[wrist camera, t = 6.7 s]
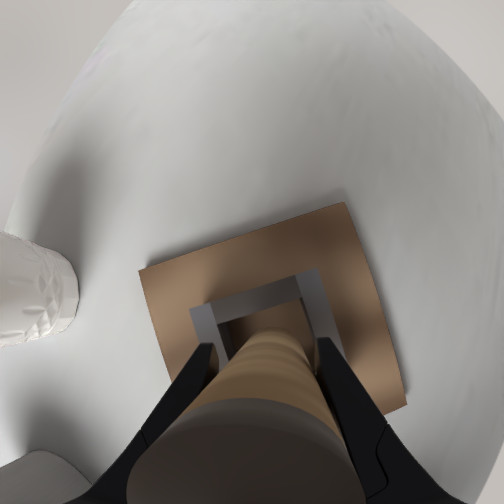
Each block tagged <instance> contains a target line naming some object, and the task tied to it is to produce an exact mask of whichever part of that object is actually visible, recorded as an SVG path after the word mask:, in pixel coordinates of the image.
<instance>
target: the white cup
mask: <svg viewBox="0 0 504 504" xmlns="http://www.w3.org/2000/svg"><path fill="white" fill-rule="evenodd" d="M78 301H79V292H78V280H77V277H76V274H75V272H74V270H73V268H72V266H71V263H70V262H69V261H68V260H67V259H66V258H64V257H63V256H62V255H61V254H60V253H58V252H56V251H53V250H50V249H46V248H43V247H41V246H39V245H37V244H35V243H33V242H30V241H27V240H24V239H22V238H19V237H17V236H14V235H12V234H9V233H6V232H3V231H0V347H3V346H9V345H14V344H19V343H23V342H26V341H32V340H36V339H39V338H40V337H46V336H51V335H54V334H57V333H59V332H62V331H64V330H65V329H66V328H67V327H68V325H69V324H70V323H71V321H72V320H73V319H74V317H75V314H76V309H77V305H78Z"/></svg>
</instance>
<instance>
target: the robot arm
mask: <svg viewBox="0 0 504 504" xmlns="http://www.w3.org/2000/svg"><path fill="white" fill-rule="evenodd" d="M314 360H315V374H316V380H317V382H318V385H319V387H320V389H321V392H322V394H323V396H324V399H325V401H326V403H327V405H328V408H329V410H330V412H331V415H332V417H333V419H334V422H335V424H336V426H337V429H338V431H339V433H340V436H341V438H342V440H343V443H344V445H345V447H346V450H347V452H348V454H349V457H350V459H351V462H352V464H353V466H354V469H355V471H356V473H357V476H358V478H359V480H360V483H361V485H362V488H363V491H364V493H365V498H366V504H466V503H464V502H463V501H461V500H459V499H457V498H455V497H453V496H451V495H450V494H448V493H447V492H446V491H444V490H443V489H442V488H441V487H440V486H439V485H438V484H437V483H436V482H435V481H434V479H433V478H432V477H431V476H430V475H429V474H428V473H427V472H426V471H425V469H424V468H423V467H422V466H421V465H420V464H419V463H418V462H417V460H416V459H415V458H414V457H413V456H412V455H411V453H410V452H409V451H408V450H407V448H406V447H405V446H404V445H403V443H402V442H401V441H400V439H399V438H398V436H397V435H396V434H395V432H394V431H393V429H392V428H391V426H390V425H389V424H387V423H388V422H387V420H386V419H385V417H384V416H383V414H382V413H381V411H380V410H379V408H378V407H377V405H376V404H375V402H374V401H373V399H372V398H371V397H370V395H369V394H368V392H367V391H366V389H365V388H364V386H363V385H362V383H361V382H360V380H359V379H358V377H357V376H356V374H355V373H354V371H353V370H352V369H351V367H350V366H349V364H348V363H347V361H346V360H345V358H344V357H343V355H342V354H341V352H340V351H339V350H338V348H337V347H336V345H335V344H334V342H333V341H332V339H331V338H330V337H318V338H316V340H315V353H314ZM218 374H219V357H218V354H217V351H216V347H215V345H214V343H213V342H202V343H200V344H199V345H198V346H197V348H196V349H195V351H194V352H193V354H192V355H191V356H190V358H189V359H188V361H187V362H186V364H185V365H184V367H183V368H182V369H181V371H180V372H179V374H178V375H177V377H176V378H175V380H174V381H173V382H172V384H171V385H170V387H169V388H168V390H167V391H166V393H165V394H164V395H163V397H162V398H161V400H160V401H159V403H158V404H157V405H156V407H155V408H154V410H153V411H152V413H151V414H150V415H149V417H148V418H147V420H146V421H145V423H144V424H143V425H142V427H141V430H139V431H138V432H137V434H136V435H135V437H134V438H133V440H132V441H131V442H130V444H129V445H128V446H127V448H126V449H125V450H124V451H123V453H122V454H121V455H120V456H119V457H118V458H117V460H116V461H115V462H114V463H113V464H112V465H111V466H110V467H109V468H108V469H107V471H106V472H105V473H104V474H103V475H102V476H101V477H100V478H99V479H98V480H97V481H96V482H95V483H94V484H93V486H92V487H91V488H90V489H88V490H87V491H86V492H85V493H83V494H82V495H80V496H78V497H77V498H74V499H72V500H70V501H67V502H65V503H63V504H128V503H127V491H126V489H127V482H128V478H129V475H130V472H131V470H132V468H133V466H134V465H135V463H136V461H137V460H138V459H139V458H140V456H141V455H142V454H143V453H144V452H145V451H146V450H147V449H148V448H149V447H150V446H151V445H152V444H153V443H154V442H155V441H156V440H157V439H158V438H159V437H160V436H161V435H162V434H163V433H164V432H165V431H166V429H167V428H168V427H169V426H170V425H171V424H172V423H173V422H174V421H175V420H176V419H177V418H178V417H179V416H180V415H181V414H182V413H183V412H184V411H185V409H186V408H187V407H188V406H189V405H190V404H191V403H192V402H193V401H194V400H195V399H196V398H197V397H198V395H199V394H200V393H201V392H202V391H203V390H204V389H205V388H206V387H207V386H208V385H209V383H210V382H211V381H212V380H213V379H214V378H215V377H216V376H217V375H218Z"/></svg>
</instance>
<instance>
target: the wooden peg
mask: <svg viewBox="0 0 504 504" xmlns="http://www.w3.org/2000/svg"><path fill="white" fill-rule="evenodd" d="M126 491H127V503H128V504H366V498H365V493H364V491H363V488H362V485H361V483H360V480H359V478H358V476H357V473H356V471H355V469H354V466H353V464H352V462H351V459H350V457H349V454H348V452H347V450H346V447H345V445H344V443H343V440H342V438H341V436H340V433H339V431H338V429H337V426H336V424H335V422H334V419H333V417H332V415H331V412H330V410H329V408H328V405H327V403H326V401H325V399H324V396H323V394H322V392H321V389H320V387H319V385H318V382H317V380H316V378H315V375H314V373H313V371H312V368H311V366H310V364H309V362H308V359H307V357H306V355H305V352H304V350H303V348H302V346H301V343H300V341H299V340H298V338H297V337H296V336H295V335H294V334H293V333H291V332H290V331H288V330H286V329H284V328H280V327H267V328H263V329H261V330H259V331H257V332H256V333H254V334H253V335H252V336H251V337H250V338H249V340H248V341H247V342H246V343H245V344H244V345H243V346H242V348H241V349H240V350H239V351H238V352H237V353H236V354H235V356H234V357H233V358H232V359H231V360H230V361H229V362H228V363H227V365H226V366H225V367H224V368H223V369H222V370H221V371H220V372H219V374H218V375H217V376H216V377H215V378H214V379H213V380H212V381H211V382H210V383H209V385H208V386H207V387H206V388H205V389H204V390H203V391H202V392H201V393H200V394H199V395H198V397H197V398H196V399H195V400H194V401H193V402H192V403H191V404H190V405H189V406H188V407H187V408H186V409H185V411H184V412H183V413H182V414H181V415H180V416H179V417H178V418H177V419H176V420H175V421H174V422H173V423H172V424H171V425H170V426H169V427H168V428H167V429H166V431H165V432H164V433H163V434H162V435H161V436H160V437H159V438H158V439H157V440H156V441H155V442H154V443H153V444H152V445H151V446H150V447H149V448H148V449H147V450H146V451H145V452H144V453H143V454H142V455H141V456H140V458H139V459H138V460H137V461H136V463H135V465H134V466H133V468H132V470H131V472H130V475H129V478H128V482H127V489H126Z"/></svg>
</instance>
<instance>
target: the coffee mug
mask: <svg viewBox="0 0 504 504" xmlns="http://www.w3.org/2000/svg"><path fill="white" fill-rule="evenodd" d="M91 487H92V485H91V483H90V482H89V481H88V480H87V479H86V478H85V477H84V476H83V475H82V474H81V473H80V472H79V471H78V470H77V469H76V468H75V467H74V466H72V465H71V464H70V463H69V462H67V461H66V460H64V459H63V458H61V457H59V456H58V455H56V454H53V453H51V452H48V451H44V450H35V451H32V452H31V453H29V454H27V455H25V456H23V457H21V458H19V459H17V460H15V461H13V462H11V463H9V464H7V465H5V466H3V467H1V468H0V504H63V503H65V502H67V501H70V500H72V499H74V498H77V497H78V496H80V495H82V494H83V493H85V492H86V491H87V490H88V489H90V488H91Z"/></svg>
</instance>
